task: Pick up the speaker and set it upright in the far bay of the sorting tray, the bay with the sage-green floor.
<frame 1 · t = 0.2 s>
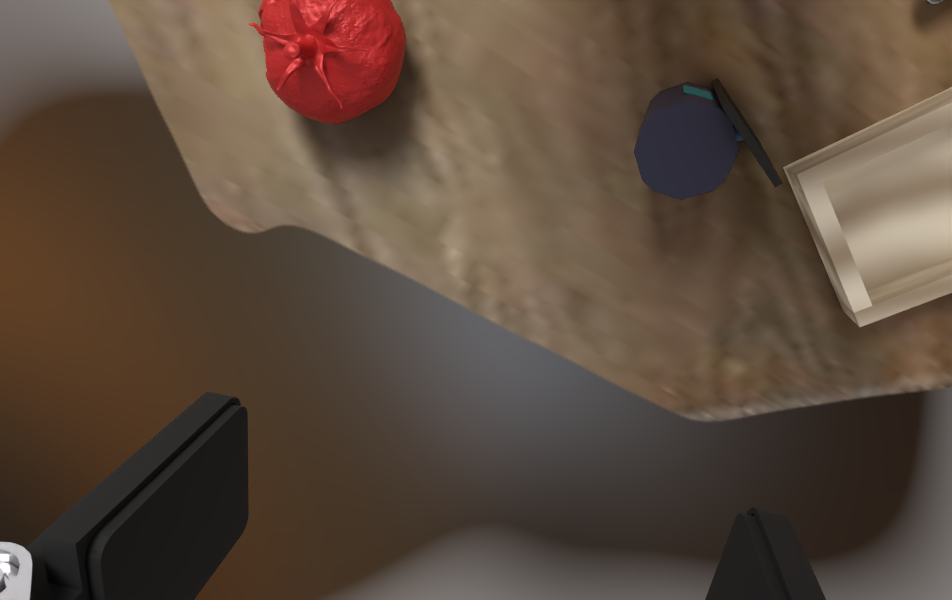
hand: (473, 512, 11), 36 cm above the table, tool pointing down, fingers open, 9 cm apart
pomegranate: (350, 46, 44), on the table
speaker: (686, 134, 43), on the table
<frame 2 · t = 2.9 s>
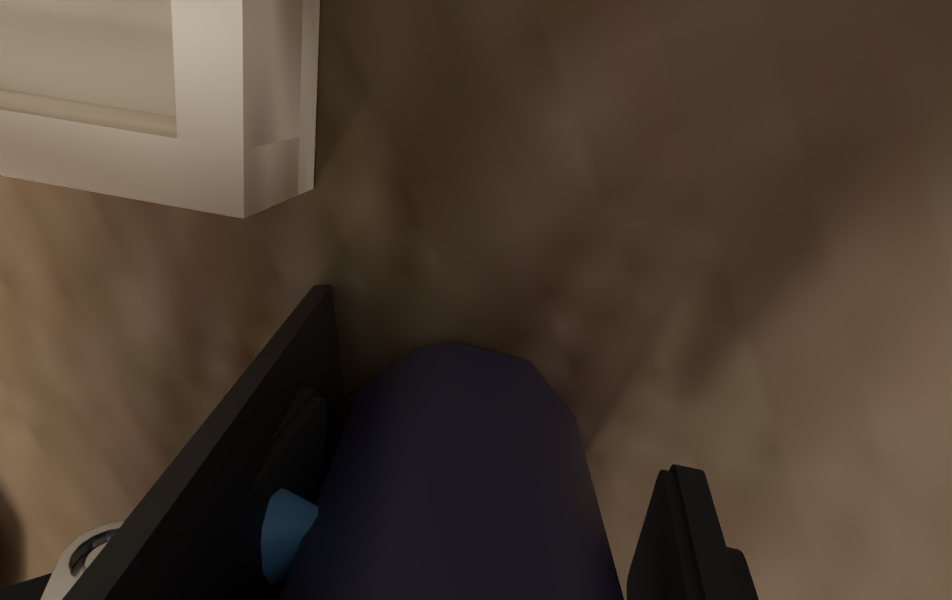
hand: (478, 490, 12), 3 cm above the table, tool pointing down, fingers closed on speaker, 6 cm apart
speaker: (469, 411, 15), on the table, touching gripper
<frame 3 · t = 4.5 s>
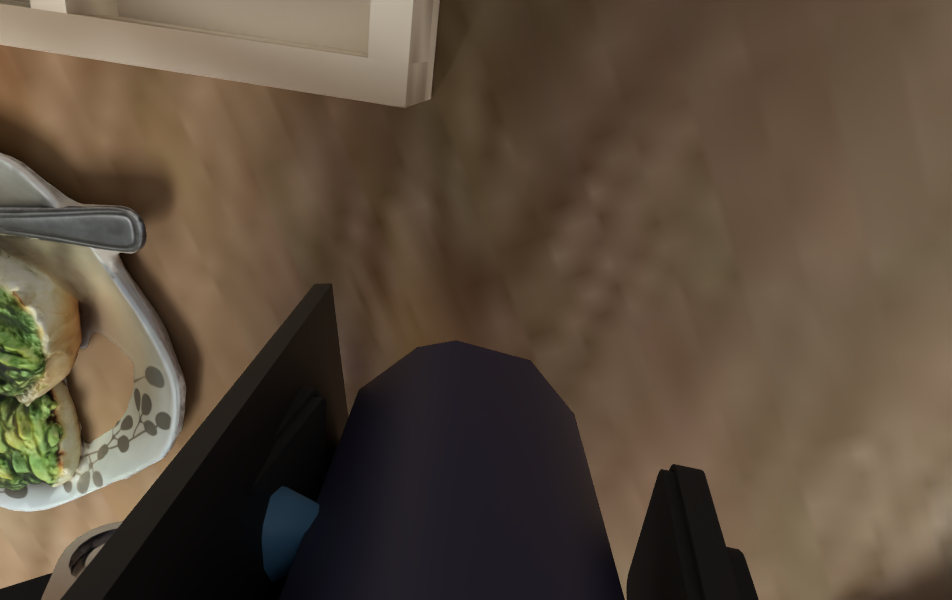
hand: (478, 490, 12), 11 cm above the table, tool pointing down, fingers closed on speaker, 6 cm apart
avocado toast plate: (6, 327, 28), on the table
speaker: (469, 410, 15), point 8 cm above the table, touching gripper
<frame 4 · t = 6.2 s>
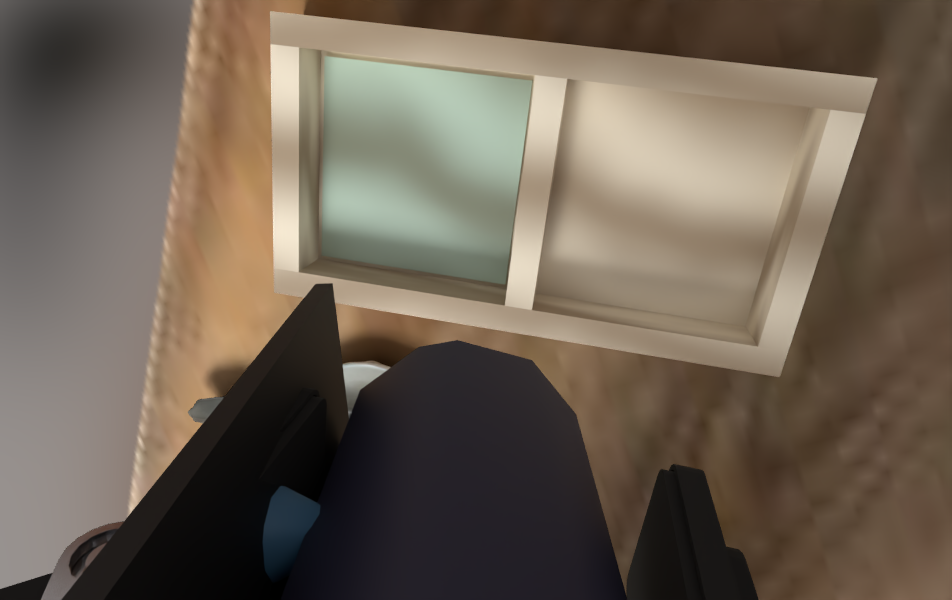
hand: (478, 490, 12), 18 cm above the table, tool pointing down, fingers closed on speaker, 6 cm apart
sorting tray: (538, 187, 28), on the table
avocado toast plate: (358, 486, 36), on the table
speaker: (471, 410, 15), point 15 cm above the table, touching gripper
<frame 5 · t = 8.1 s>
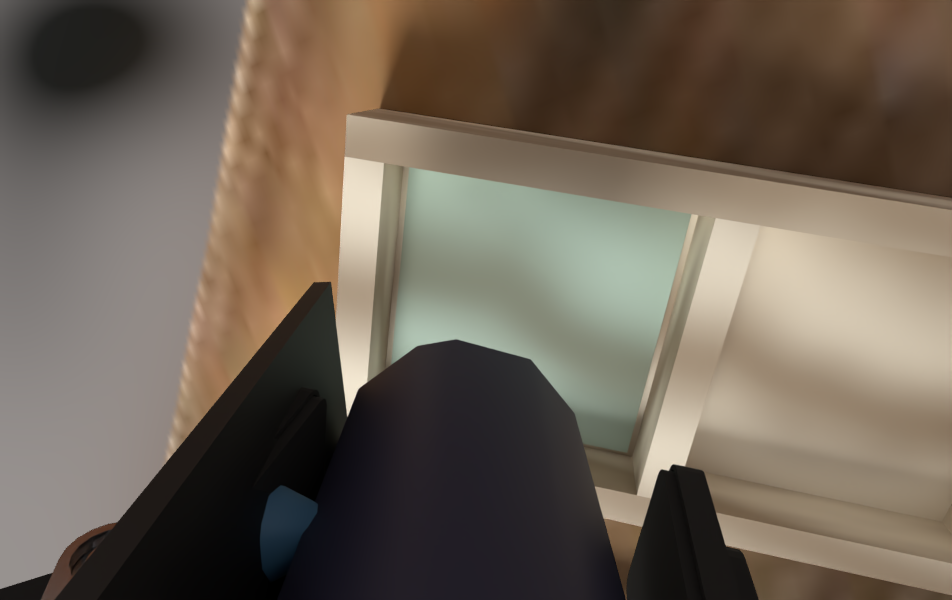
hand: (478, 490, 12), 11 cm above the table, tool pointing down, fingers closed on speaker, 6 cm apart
sorting tray: (678, 334, 21), on the table
speaker: (469, 409, 15), point 7 cm above the table, touching gripper
when the fingers open (5 cm above the table, at t = 9.6 s): speaker drops 1 cm, resting on sorting tray.
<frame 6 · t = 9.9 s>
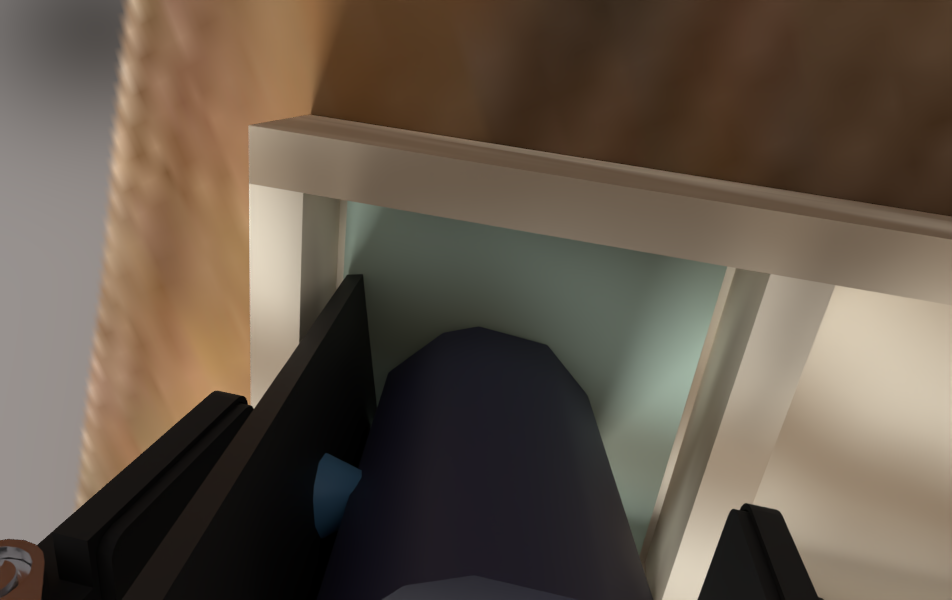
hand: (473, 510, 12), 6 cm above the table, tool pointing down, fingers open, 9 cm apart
sorting tray: (706, 409, 16), on the table
speaker: (490, 392, 16), point 1 cm above the table, touching sorting tray
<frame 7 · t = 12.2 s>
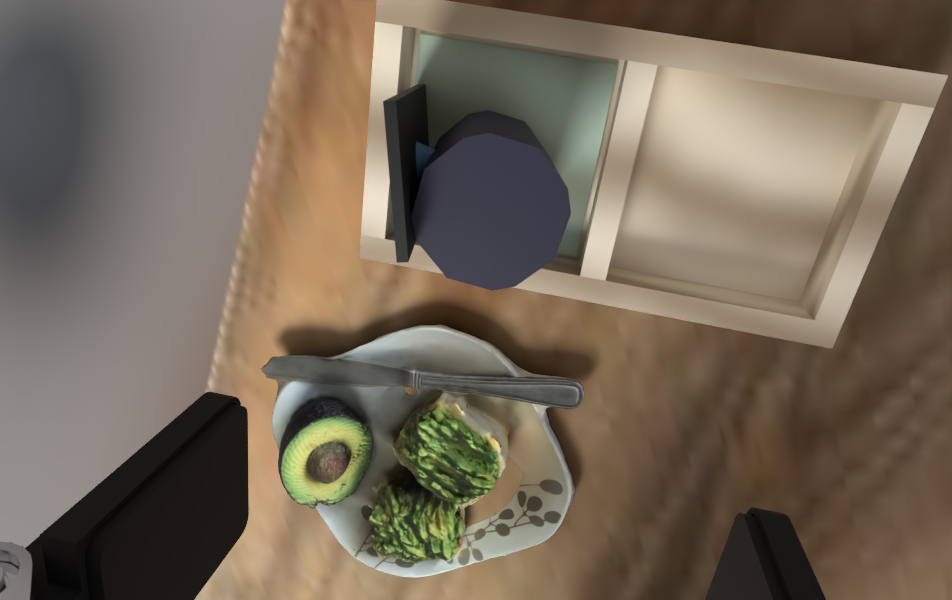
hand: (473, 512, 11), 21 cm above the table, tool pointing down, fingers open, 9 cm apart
sorting tray: (613, 166, 29), on the table
avocado toast plate: (416, 443, 38), on the table
speaker: (493, 155, 29), point 1 cm above the table, touching sorting tray
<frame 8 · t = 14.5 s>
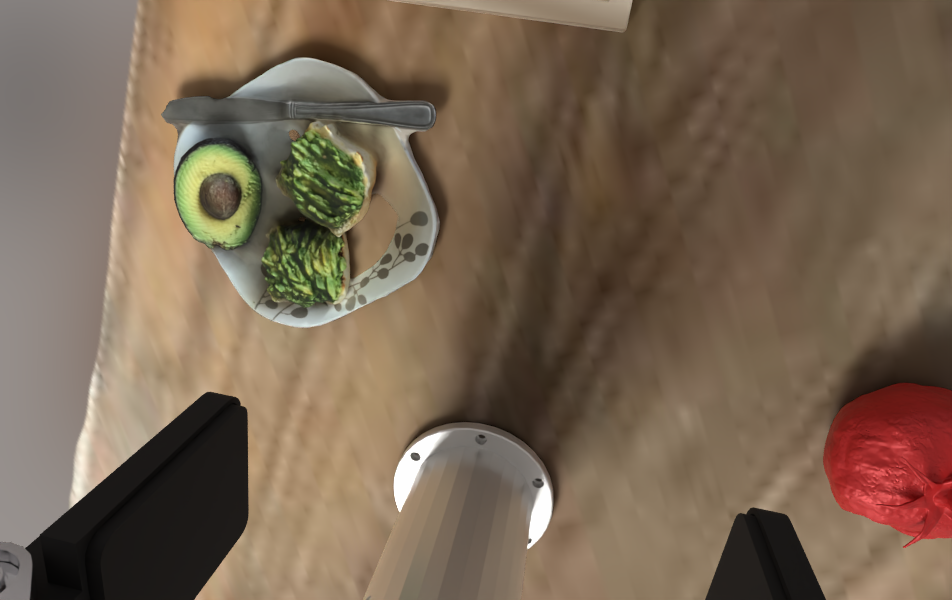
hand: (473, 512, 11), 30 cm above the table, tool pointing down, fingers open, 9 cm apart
pomegranate: (886, 429, 42), on the table
avocado toast plate: (305, 196, 43), on the table
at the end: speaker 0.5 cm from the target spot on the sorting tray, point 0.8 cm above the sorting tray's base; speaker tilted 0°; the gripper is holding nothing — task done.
